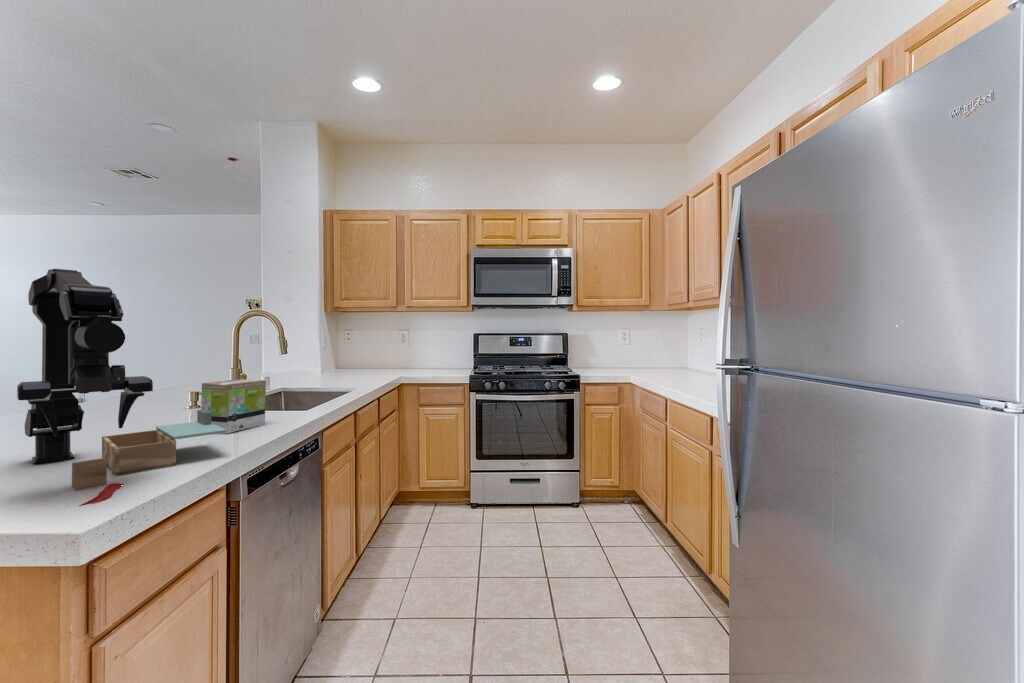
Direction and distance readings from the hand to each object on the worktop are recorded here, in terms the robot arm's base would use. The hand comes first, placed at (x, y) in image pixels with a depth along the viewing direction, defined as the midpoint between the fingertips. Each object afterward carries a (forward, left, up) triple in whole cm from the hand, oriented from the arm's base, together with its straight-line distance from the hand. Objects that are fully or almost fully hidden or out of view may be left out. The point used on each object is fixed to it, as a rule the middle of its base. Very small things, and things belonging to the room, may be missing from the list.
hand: (89, 431), depth 88 cm
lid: (-12, +20, -5) cm, 23 cm away
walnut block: (0, 0, -10) cm, 11 cm away
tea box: (-37, +37, -11) cm, 53 cm away
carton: (-12, +10, -10) cm, 18 cm away
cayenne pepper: (+9, +1, -11) cm, 14 cm away
